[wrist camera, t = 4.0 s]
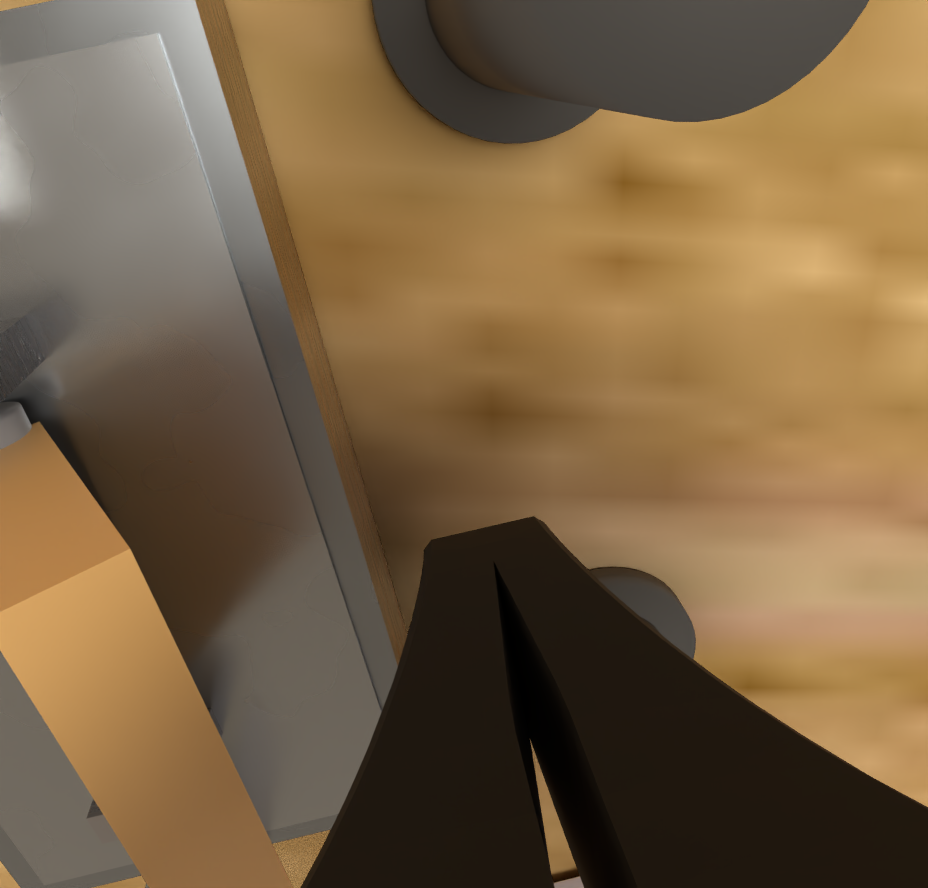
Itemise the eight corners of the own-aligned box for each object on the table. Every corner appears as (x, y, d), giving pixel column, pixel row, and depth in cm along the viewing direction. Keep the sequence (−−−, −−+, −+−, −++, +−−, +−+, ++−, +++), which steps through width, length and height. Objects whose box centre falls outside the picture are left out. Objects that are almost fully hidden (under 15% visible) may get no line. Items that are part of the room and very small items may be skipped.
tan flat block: (173, 691, 13) (301, 904, 9) (101, 734, 12) (207, 980, 8) (23, 392, 10) (116, 520, 6) (-78, 428, 10) (-37, 591, 6)
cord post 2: (688, 686, 18) (868, 1019, 12) (523, 725, 18) (616, 1084, 11) (680, 549, 16) (889, 858, 10) (495, 592, 16) (588, 934, 10)
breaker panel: (427, 706, 17) (454, 927, 13) (73, 791, 17) (-23, 1046, 12) (221, -8, 10) (129, -60, 6) (-362, 111, 10) (-886, 148, 6)
